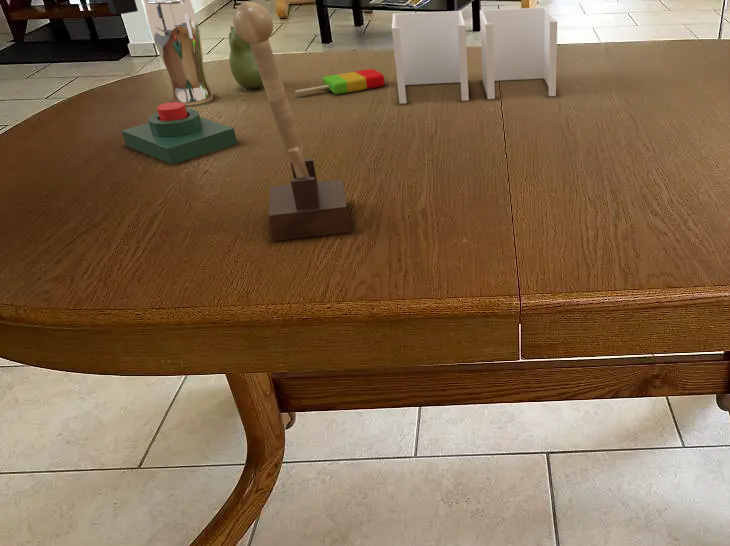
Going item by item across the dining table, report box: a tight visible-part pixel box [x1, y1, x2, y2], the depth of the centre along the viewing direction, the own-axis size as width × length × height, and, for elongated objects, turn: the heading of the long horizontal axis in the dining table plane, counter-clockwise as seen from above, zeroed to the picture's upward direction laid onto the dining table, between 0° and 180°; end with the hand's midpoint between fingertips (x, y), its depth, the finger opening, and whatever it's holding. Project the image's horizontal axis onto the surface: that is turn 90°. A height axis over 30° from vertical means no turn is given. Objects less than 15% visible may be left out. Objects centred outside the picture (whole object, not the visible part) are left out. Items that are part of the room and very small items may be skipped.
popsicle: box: [294, 68, 385, 95], centre depth 123 cm, size 6×15×2 cm, turn 122°
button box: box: [121, 108, 238, 165], centre depth 102 cm, size 12×10×4 cm
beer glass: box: [143, 0, 214, 106], centre depth 116 cm, size 7×7×15 cm
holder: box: [268, 157, 352, 242], centre depth 81 cm, size 8×8×6 cm
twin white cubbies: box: [391, 6, 558, 104], centre depth 119 cm, size 25×11×11 cm, turn 96°
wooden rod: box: [232, 1, 310, 178], centre depth 74 cm, size 18×4×4 cm
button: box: [156, 101, 188, 121], centre depth 101 cm, size 4×4×2 cm
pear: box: [228, 25, 264, 90], centre depth 123 cm, size 6×5×10 cm
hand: (124, 12), depth 90 cm, fingers closed
